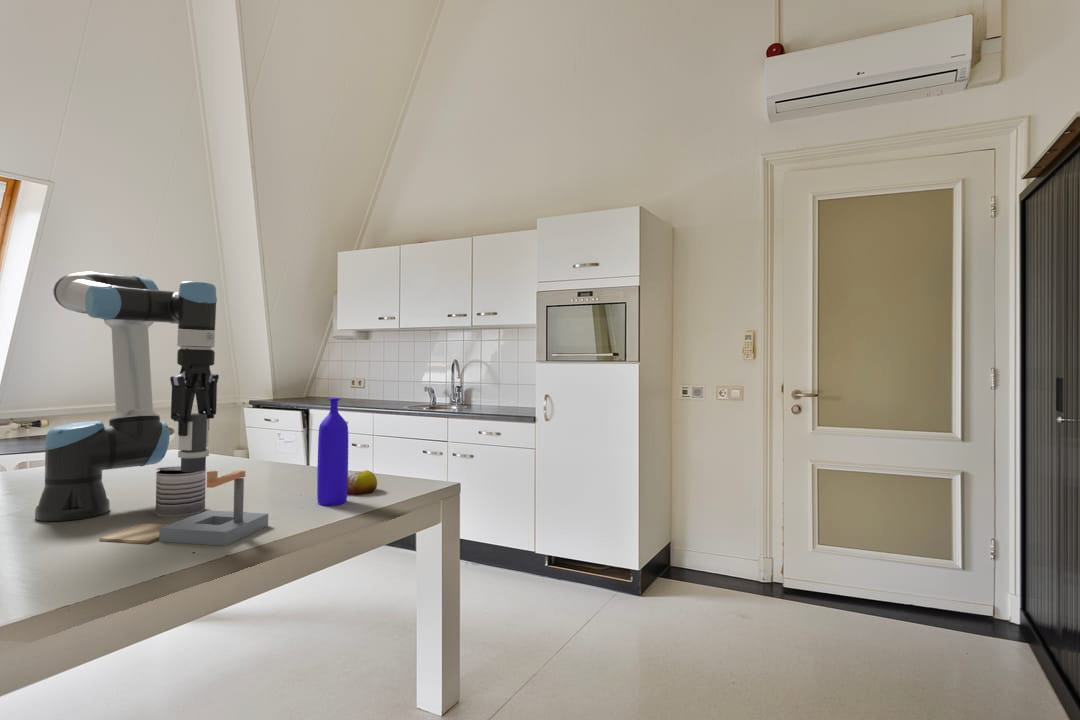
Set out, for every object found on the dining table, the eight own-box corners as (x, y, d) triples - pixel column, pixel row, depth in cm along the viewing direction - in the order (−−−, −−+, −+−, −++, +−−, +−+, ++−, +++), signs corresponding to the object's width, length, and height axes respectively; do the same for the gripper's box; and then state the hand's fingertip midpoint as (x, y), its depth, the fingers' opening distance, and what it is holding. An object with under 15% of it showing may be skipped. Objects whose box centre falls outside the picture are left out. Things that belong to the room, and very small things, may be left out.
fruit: (360, 485, 193) (366, 462, 192) (380, 499, 187) (386, 475, 186) (331, 490, 184) (336, 466, 182) (351, 505, 178) (357, 480, 177)
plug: (171, 471, 136) (172, 415, 136) (190, 466, 142) (191, 412, 142) (196, 473, 136) (198, 416, 135) (214, 468, 142) (215, 413, 141)
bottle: (337, 507, 165) (339, 399, 165) (310, 505, 167) (312, 398, 167) (352, 500, 173) (354, 397, 173) (327, 498, 175) (329, 396, 175)
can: (144, 514, 154) (145, 468, 154) (184, 504, 165) (185, 461, 165) (176, 519, 150) (177, 471, 150) (215, 508, 161) (216, 464, 161)
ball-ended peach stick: (215, 487, 126) (215, 472, 126) (203, 487, 126) (203, 472, 126) (247, 475, 140) (247, 462, 140) (236, 475, 140) (236, 461, 140)
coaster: (99, 540, 132) (99, 537, 132) (142, 525, 144) (142, 523, 144) (148, 543, 130) (148, 541, 130) (187, 528, 142) (187, 526, 142)
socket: (159, 541, 132) (160, 483, 132) (208, 522, 148) (209, 470, 148) (225, 545, 130) (226, 486, 130) (268, 525, 146) (269, 472, 146)
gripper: (184, 348, 129) (181, 455, 130) (235, 349, 147) (232, 443, 147) (152, 347, 130) (149, 453, 130) (207, 348, 148) (204, 441, 148)
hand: (193, 447), depth 139 cm, fingers closed on plug, 5 cm apart
